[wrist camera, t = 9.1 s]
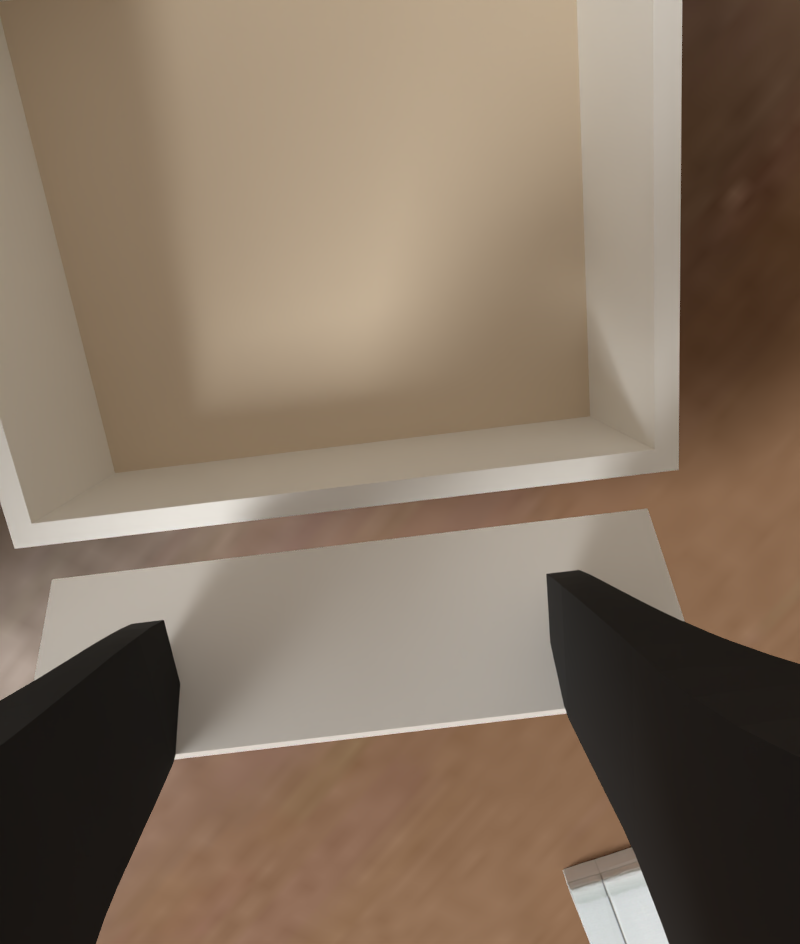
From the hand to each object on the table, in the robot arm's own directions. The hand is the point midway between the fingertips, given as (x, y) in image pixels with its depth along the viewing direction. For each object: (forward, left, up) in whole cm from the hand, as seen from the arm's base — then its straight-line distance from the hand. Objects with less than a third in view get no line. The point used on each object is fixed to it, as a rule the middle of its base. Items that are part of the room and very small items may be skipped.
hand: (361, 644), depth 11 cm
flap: (0, 0, 0) cm, 0 cm away
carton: (0, +8, -7) cm, 10 cm away
